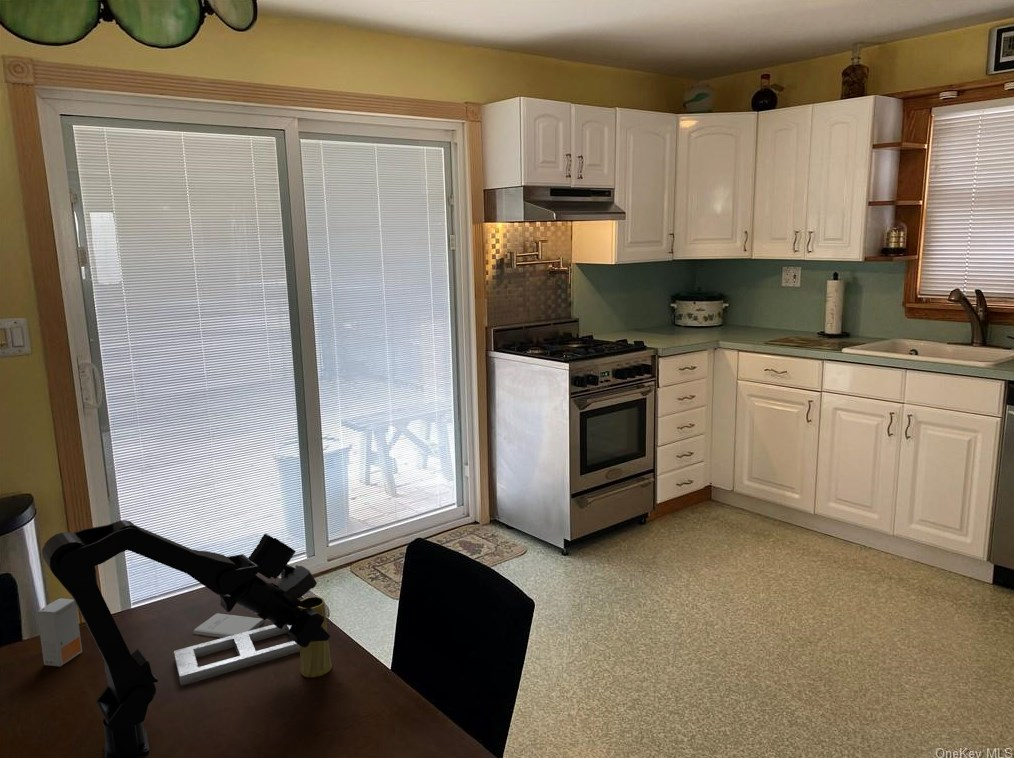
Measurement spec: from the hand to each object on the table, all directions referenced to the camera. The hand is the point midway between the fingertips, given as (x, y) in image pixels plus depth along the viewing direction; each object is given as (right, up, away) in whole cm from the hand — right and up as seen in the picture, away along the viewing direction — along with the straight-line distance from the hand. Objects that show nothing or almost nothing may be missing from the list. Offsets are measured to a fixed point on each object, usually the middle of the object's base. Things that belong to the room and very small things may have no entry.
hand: (319, 631), depth 146 cm
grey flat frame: (-17, -7, +7) cm, 20 cm away
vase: (-1, -8, 0) cm, 8 cm away
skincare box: (-55, -8, +8) cm, 56 cm away
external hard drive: (-25, -6, +18) cm, 31 cm away
